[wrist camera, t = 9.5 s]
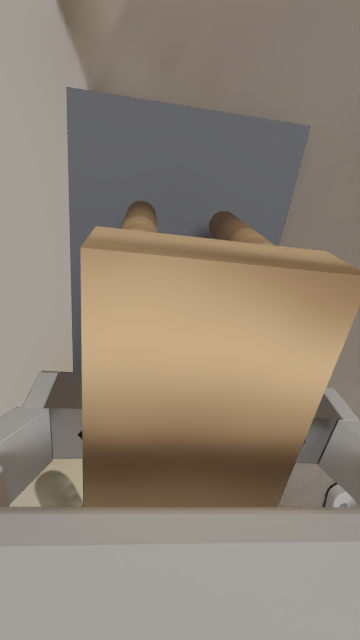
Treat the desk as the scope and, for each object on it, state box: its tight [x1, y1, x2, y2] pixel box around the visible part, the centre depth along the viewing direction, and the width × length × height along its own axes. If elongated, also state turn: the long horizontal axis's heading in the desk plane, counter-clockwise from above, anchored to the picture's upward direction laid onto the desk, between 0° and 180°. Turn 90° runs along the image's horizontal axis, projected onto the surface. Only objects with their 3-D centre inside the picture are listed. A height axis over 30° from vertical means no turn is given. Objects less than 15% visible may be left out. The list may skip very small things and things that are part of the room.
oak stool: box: [81, 201, 360, 507], centre depth 13 cm, size 10×6×10 cm, turn 173°
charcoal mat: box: [67, 87, 310, 373], centre depth 20 cm, size 18×12×1 cm, turn 173°
